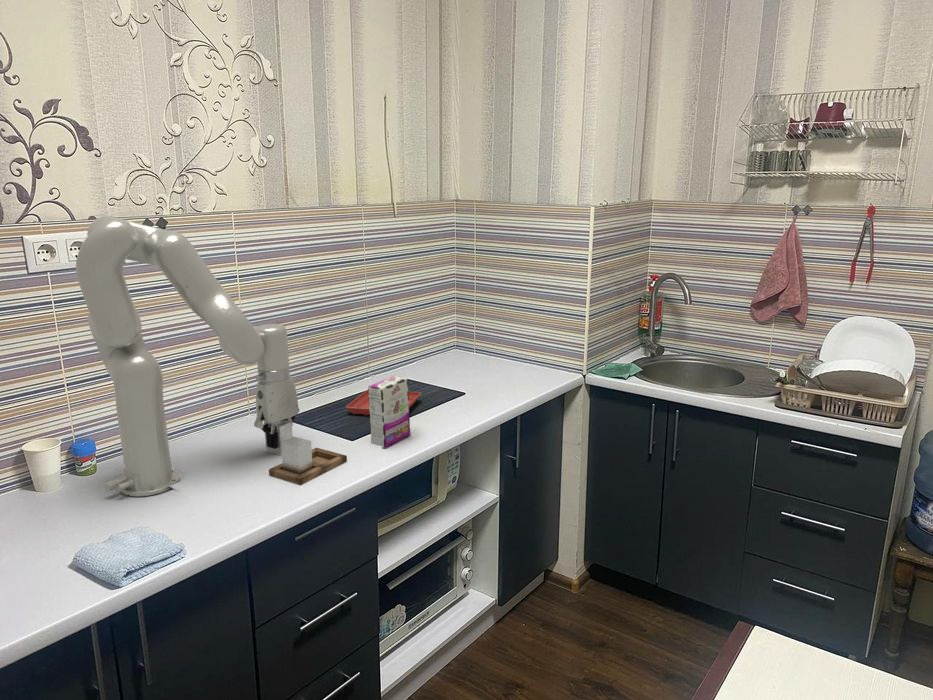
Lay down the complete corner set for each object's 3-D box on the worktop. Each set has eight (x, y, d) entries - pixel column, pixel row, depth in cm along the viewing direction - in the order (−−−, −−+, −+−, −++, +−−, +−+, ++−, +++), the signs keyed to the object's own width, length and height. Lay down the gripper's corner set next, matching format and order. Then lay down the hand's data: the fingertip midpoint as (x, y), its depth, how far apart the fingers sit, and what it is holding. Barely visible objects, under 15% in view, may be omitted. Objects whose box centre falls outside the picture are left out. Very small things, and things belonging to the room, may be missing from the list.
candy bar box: (396, 432, 188) (394, 374, 184) (410, 435, 185) (409, 377, 181) (369, 445, 178) (367, 385, 174) (384, 449, 176) (382, 388, 172)
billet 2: (300, 479, 156) (298, 446, 154) (283, 474, 159) (280, 441, 157) (313, 473, 160) (310, 440, 158) (296, 468, 162) (293, 436, 160)
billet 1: (281, 457, 170) (279, 426, 168) (266, 452, 173) (263, 422, 171) (293, 451, 173) (291, 422, 171) (278, 447, 176) (276, 418, 174)
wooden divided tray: (300, 489, 153) (299, 478, 153) (269, 479, 159) (268, 469, 158) (347, 465, 166) (346, 455, 166) (317, 456, 171) (316, 447, 171)
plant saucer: (345, 417, 201) (344, 406, 200) (368, 398, 218) (367, 388, 217) (403, 421, 197) (403, 410, 196) (422, 402, 214) (422, 392, 213)
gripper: (258, 385, 159) (264, 458, 163) (309, 368, 173) (314, 436, 177) (236, 380, 163) (242, 452, 167) (288, 364, 177) (293, 431, 181)
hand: (279, 443), depth 172 cm, fingers closed on billet 1, 4 cm apart
